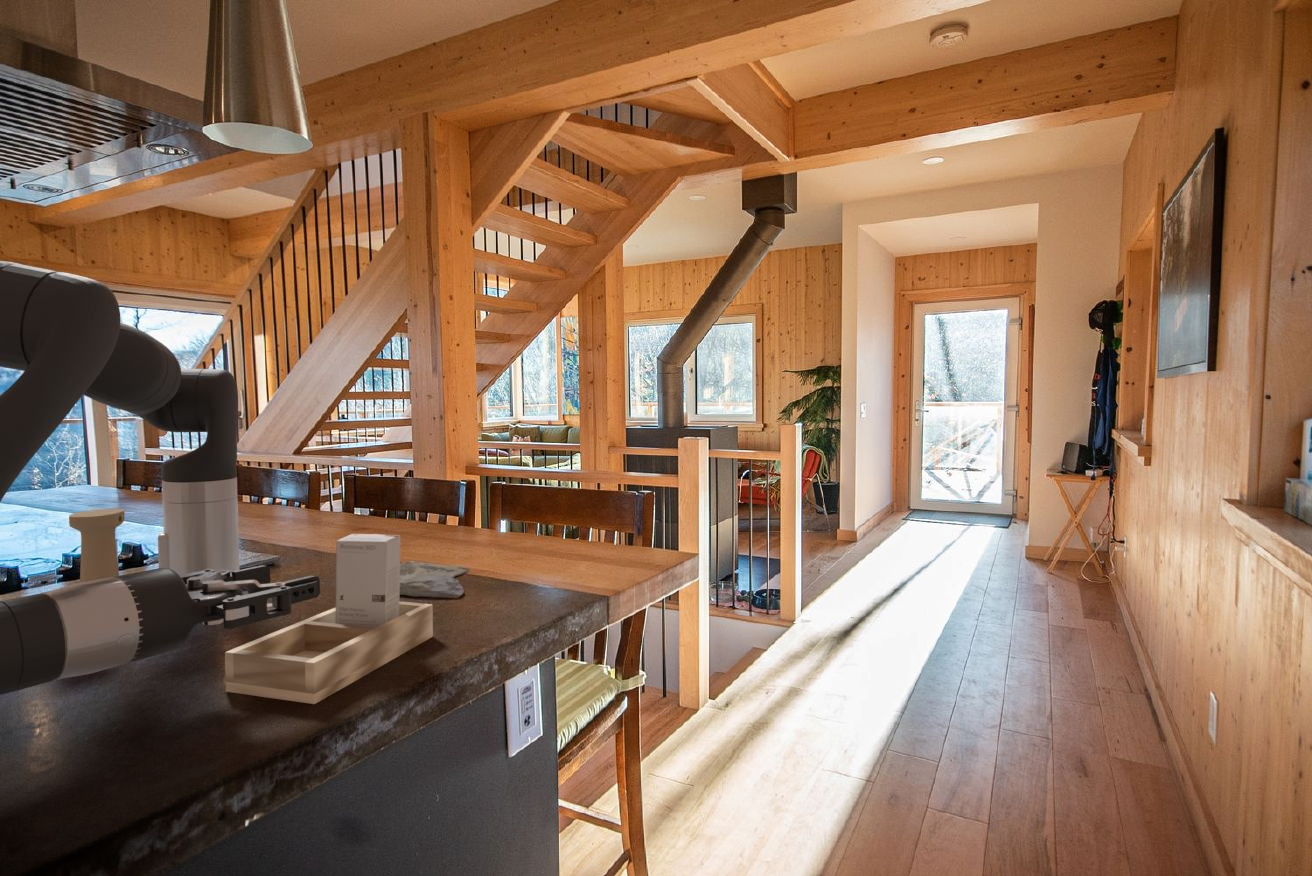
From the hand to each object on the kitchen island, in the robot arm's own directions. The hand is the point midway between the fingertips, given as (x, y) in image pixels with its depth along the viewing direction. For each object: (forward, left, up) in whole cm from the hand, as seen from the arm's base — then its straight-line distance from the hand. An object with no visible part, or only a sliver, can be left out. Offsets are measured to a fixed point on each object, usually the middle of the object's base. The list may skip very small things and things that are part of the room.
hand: (292, 580), depth 74 cm
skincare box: (+7, +6, -9) cm, 13 cm away
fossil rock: (+12, +35, -11) cm, 39 cm away
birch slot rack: (+4, +3, -10) cm, 11 cm away
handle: (-26, +20, -10) cm, 34 cm away
